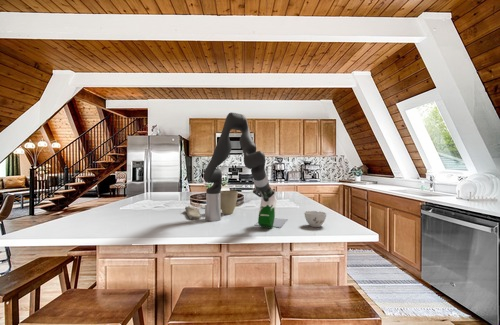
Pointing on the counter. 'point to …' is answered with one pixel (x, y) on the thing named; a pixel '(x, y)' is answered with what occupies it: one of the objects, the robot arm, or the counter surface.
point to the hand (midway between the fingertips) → (266, 200)
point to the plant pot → (228, 201)
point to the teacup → (315, 218)
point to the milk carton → (267, 212)
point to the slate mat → (276, 222)
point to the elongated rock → (193, 213)
